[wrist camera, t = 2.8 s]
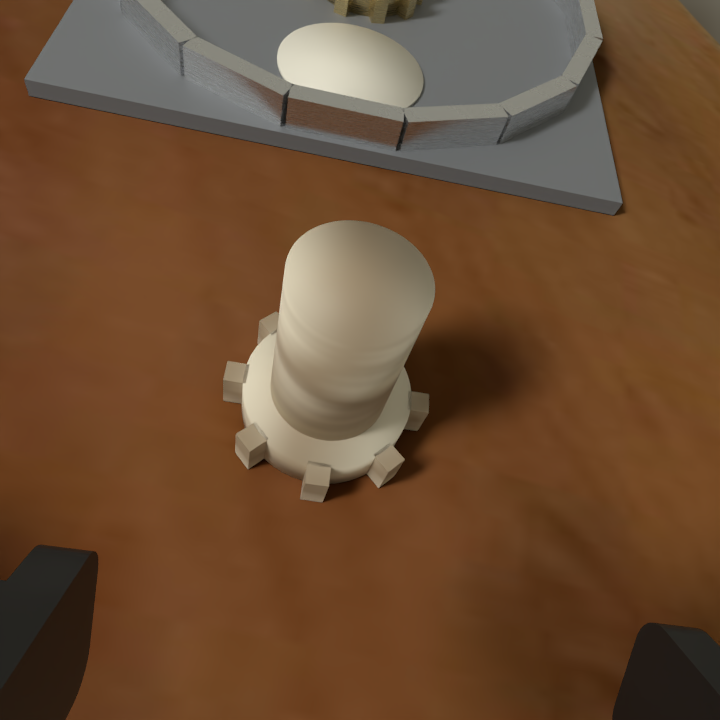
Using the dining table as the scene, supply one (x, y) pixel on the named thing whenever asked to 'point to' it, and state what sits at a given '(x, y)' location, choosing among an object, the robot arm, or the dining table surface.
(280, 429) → the planet gear
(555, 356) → the dining table surface
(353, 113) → the ring gear
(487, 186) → the carrier plate
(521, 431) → the dining table surface
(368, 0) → the sun gear
